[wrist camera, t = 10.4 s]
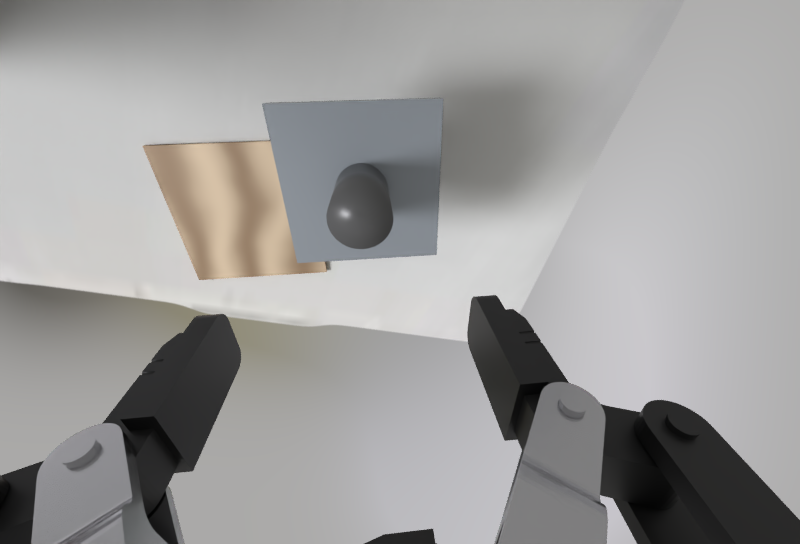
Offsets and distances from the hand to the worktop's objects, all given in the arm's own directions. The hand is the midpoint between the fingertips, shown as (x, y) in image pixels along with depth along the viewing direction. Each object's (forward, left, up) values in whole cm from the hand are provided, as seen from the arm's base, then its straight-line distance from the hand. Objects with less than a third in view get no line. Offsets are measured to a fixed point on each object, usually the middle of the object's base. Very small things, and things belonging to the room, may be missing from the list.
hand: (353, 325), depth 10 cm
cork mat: (-14, -6, -28) cm, 32 cm away
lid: (0, 0, -17) cm, 17 cm away
